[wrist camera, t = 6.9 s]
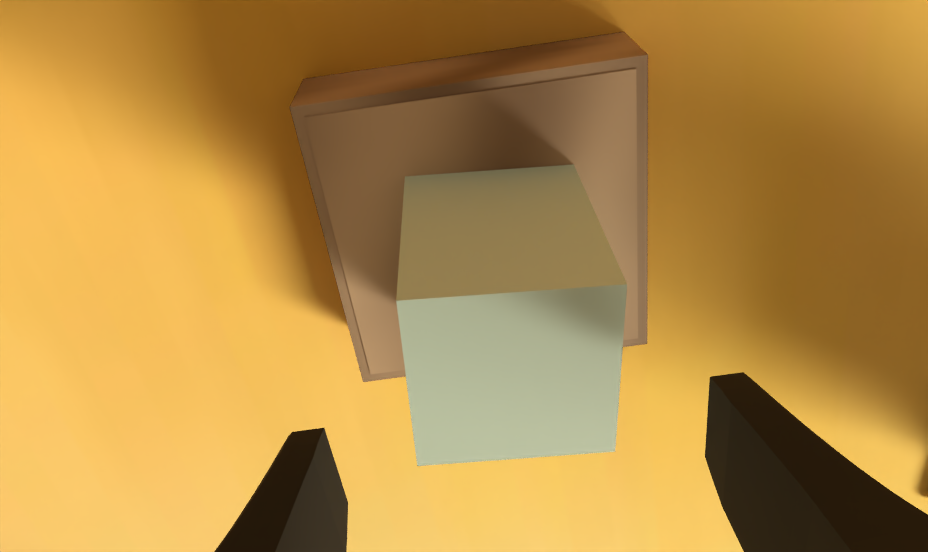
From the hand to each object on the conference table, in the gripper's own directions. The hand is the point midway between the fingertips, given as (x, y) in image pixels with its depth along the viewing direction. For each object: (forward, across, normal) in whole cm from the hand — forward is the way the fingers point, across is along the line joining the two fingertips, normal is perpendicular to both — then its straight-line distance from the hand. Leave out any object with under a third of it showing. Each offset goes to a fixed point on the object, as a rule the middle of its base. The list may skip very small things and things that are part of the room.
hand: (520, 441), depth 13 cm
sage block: (+8, 0, 0) cm, 8 cm away
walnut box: (+11, 0, 0) cm, 11 cm away
